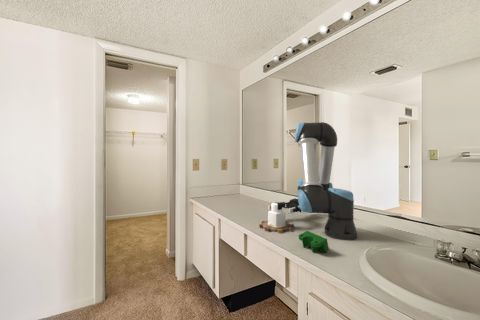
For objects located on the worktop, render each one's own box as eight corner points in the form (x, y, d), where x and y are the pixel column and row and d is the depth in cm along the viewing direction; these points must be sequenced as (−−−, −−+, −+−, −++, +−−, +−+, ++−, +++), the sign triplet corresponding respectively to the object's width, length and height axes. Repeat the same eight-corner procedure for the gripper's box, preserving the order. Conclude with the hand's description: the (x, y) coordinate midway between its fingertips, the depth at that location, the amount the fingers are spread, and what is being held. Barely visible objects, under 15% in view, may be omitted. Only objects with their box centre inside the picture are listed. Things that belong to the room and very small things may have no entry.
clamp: (303, 256, 91) (294, 236, 94) (313, 250, 94) (304, 231, 96) (321, 256, 81) (311, 233, 83) (332, 250, 83) (321, 228, 86)
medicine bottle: (276, 221, 123) (277, 201, 123) (285, 224, 117) (285, 203, 117) (267, 223, 119) (267, 202, 119) (276, 226, 113) (276, 204, 113)
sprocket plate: (300, 227, 118) (300, 224, 118) (282, 235, 104) (282, 232, 104) (272, 220, 131) (272, 217, 131) (252, 227, 117) (252, 224, 117)
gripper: (315, 213, 127) (298, 220, 111) (279, 207, 144) (261, 212, 128) (315, 200, 127) (298, 206, 111) (279, 196, 144) (261, 200, 128)
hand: (278, 209), depth 120 cm, fingers open, 13 cm apart
